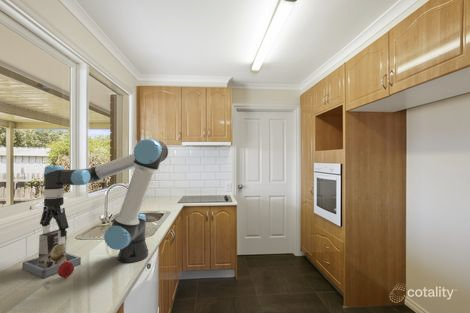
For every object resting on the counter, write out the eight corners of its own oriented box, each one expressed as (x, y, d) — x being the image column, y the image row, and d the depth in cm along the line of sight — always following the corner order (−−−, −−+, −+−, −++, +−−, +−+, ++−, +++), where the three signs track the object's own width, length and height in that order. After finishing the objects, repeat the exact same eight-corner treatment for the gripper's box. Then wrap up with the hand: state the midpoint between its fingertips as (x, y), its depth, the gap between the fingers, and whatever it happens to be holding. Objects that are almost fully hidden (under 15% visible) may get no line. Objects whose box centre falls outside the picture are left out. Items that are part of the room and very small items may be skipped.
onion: (71, 273, 108) (71, 256, 108) (75, 277, 104) (76, 259, 104) (55, 278, 103) (56, 260, 103) (59, 283, 100) (60, 264, 100)
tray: (80, 264, 117) (80, 257, 117) (42, 278, 103) (43, 270, 103) (60, 257, 125) (60, 250, 125) (22, 269, 111) (22, 262, 111)
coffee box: (48, 271, 109) (49, 236, 109) (37, 269, 110) (38, 234, 111) (66, 262, 118) (67, 230, 118) (56, 261, 119) (57, 229, 119)
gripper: (77, 198, 112) (77, 242, 112) (48, 194, 123) (48, 235, 123) (59, 200, 106) (59, 248, 105) (31, 196, 117) (31, 239, 116)
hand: (53, 241), depth 114 cm, fingers open, 13 cm apart
